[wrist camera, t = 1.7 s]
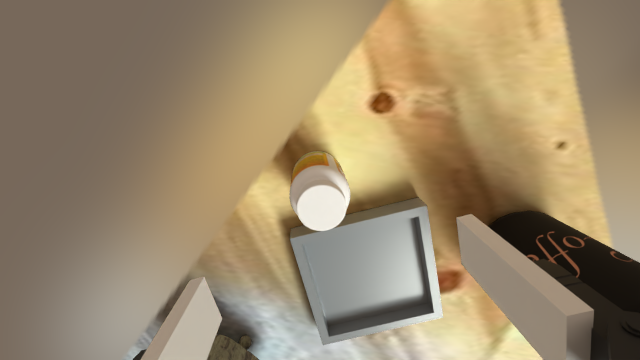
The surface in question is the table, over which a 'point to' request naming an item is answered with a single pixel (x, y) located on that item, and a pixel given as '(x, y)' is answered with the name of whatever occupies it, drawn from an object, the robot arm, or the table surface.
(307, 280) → the tray
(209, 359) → the tabletop clock
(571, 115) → the table surface
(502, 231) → the coffee jar
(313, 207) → the supplement bottle
